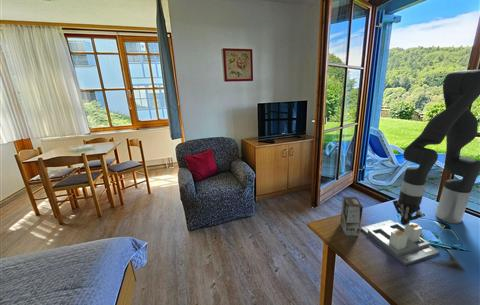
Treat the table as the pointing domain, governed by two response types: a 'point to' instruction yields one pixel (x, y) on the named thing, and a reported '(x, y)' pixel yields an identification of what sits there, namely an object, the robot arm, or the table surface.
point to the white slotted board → (406, 255)
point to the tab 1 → (398, 239)
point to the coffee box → (351, 216)
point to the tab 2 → (413, 231)
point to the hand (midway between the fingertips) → (404, 224)
